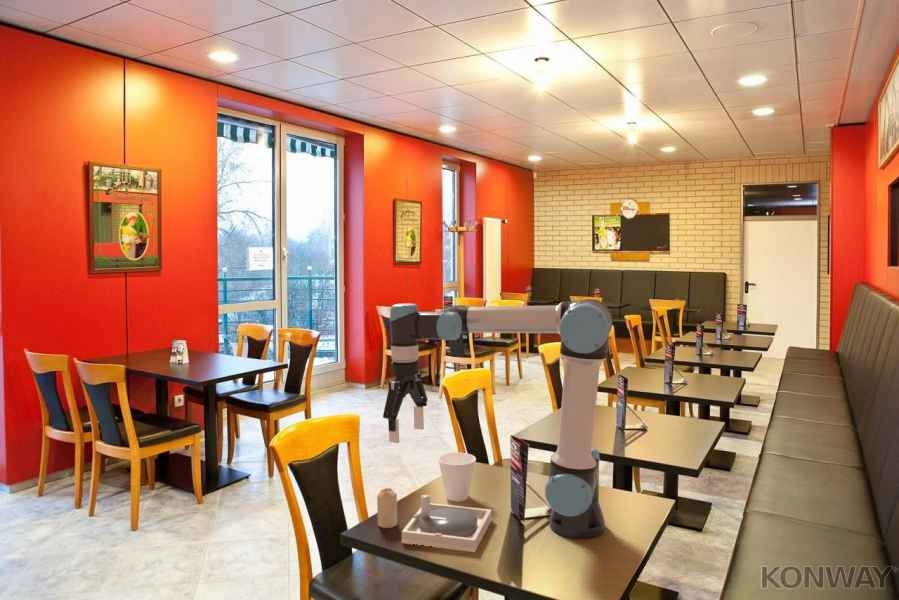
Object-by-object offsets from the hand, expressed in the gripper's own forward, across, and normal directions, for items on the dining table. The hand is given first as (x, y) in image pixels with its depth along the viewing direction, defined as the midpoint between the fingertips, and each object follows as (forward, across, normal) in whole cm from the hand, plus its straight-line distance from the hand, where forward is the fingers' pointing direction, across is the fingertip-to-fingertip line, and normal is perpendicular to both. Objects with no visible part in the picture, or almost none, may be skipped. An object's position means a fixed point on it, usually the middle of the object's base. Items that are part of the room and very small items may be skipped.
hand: (407, 435), depth 185 cm
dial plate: (+26, -2, +11) cm, 29 cm away
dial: (+25, -2, +11) cm, 28 cm away
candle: (+26, +2, -6) cm, 27 cm away
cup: (+26, -25, +3) cm, 36 cm away
